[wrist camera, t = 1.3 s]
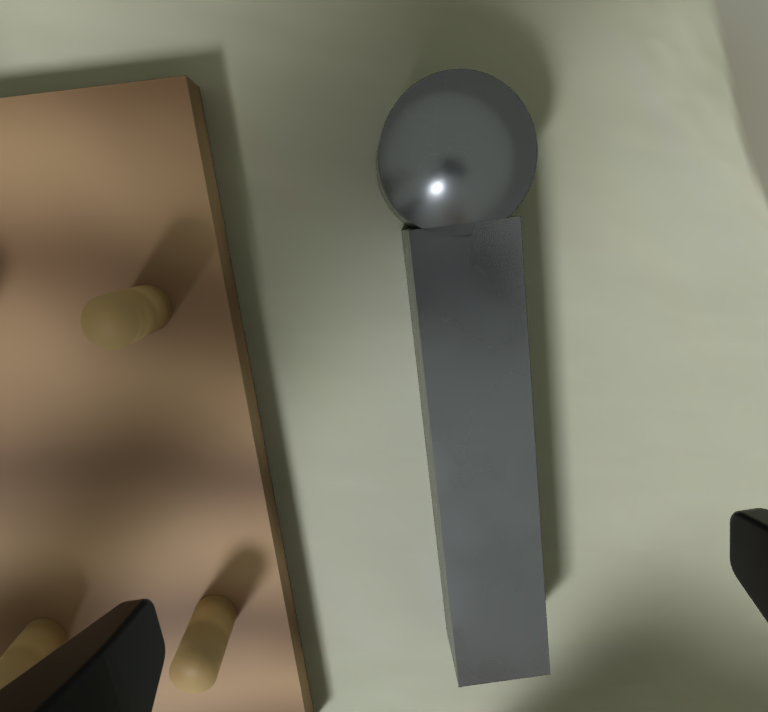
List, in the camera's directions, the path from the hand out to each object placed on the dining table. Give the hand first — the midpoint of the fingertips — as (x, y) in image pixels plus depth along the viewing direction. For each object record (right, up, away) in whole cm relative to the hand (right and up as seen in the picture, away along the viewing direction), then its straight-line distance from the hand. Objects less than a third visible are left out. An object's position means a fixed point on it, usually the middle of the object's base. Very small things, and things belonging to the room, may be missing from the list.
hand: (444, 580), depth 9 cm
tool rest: (-12, -1, +13) cm, 17 cm away
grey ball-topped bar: (+2, +2, +13) cm, 13 cm away
